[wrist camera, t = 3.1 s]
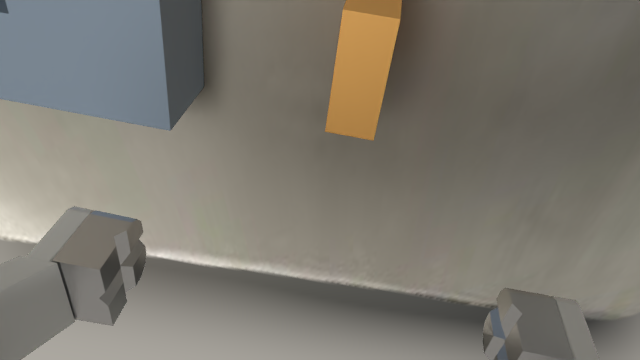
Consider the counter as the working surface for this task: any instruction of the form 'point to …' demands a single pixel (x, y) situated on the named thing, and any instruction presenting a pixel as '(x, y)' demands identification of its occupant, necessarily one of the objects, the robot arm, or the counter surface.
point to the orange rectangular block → (362, 66)
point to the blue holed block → (103, 57)
